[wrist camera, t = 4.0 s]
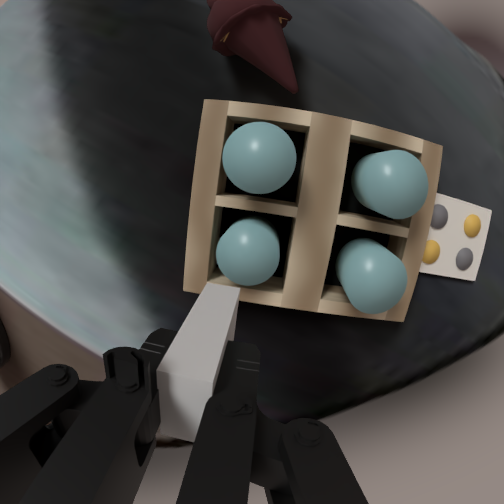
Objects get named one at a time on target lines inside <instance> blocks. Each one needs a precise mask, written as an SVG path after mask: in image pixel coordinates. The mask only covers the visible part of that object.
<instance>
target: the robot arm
mask: <svg viewBox="0 0 504 504" xmlns="http://www.w3.org/2000/svg"><path fill="white" fill-rule="evenodd" d="M239 295H240V288H237V287H231V286H225V285H219V284H213V283H207V284H206V285H205V287H204V289H203V291H202V292H201V294H200V296H199V297H198V299H197V301H196V302H195V304H194V306H193V308H192V309H191V311H190V313H189V314H188V316H187V318H186V319H185V321H184V323H183V325H182V326H181V328H180V330H179V332H177V331H173V330H168V329H163V328H160V329H158V330H156V331H154V332H152V333H151V334H150V335H149V336H148V338H147V339H146V341H145V343H143V345H142V346H141V348H140V349H139V350H138V349H136V348H131V347H116V348H113V349H110V350H108V351H107V352H105V353H104V354H103V359H104V366H105V372H106V379H105V380H104V381H103V382H101V381H86V380H79V377H78V374H77V372H76V371H75V370H74V369H73V368H72V367H70V366H67V365H63V364H54V365H49V366H47V367H45V368H43V369H41V370H40V371H38V372H36V373H35V374H33V375H32V376H30V377H28V378H27V379H25V380H24V381H22V382H20V383H19V384H17V385H16V386H14V387H12V388H11V389H9V390H8V391H6V392H5V393H3V394H1V395H0V504H133V501H134V498H135V496H136V494H137V491H138V489H139V486H140V483H141V481H142V479H143V476H144V473H145V471H146V468H147V466H148V464H149V461H150V459H151V456H152V454H153V451H154V449H155V446H156V435H155V434H156V432H157V430H158V427H159V425H160V432H161V434H163V435H167V436H171V437H175V438H179V439H183V440H187V441H192V442H194V445H193V448H192V451H191V455H190V458H189V461H188V465H187V468H186V471H185V475H184V478H183V481H182V485H181V489H180V492H179V496H178V498H177V502H176V504H247V502H248V493H249V483H250V482H252V483H254V484H257V485H259V486H262V487H264V489H265V493H266V497H267V501H268V504H368V502H367V500H366V498H365V496H364V494H363V492H362V490H361V488H360V486H359V484H358V482H357V480H356V478H355V476H354V474H353V472H352V470H351V468H350V466H349V464H348V462H347V460H346V458H345V456H344V454H343V452H342V450H341V448H340V446H339V444H338V442H337V440H336V438H335V436H334V434H333V432H332V431H331V430H330V429H329V427H328V426H326V425H325V424H323V423H322V422H320V421H317V420H314V419H310V418H299V419H295V420H292V421H290V422H289V423H288V424H286V425H285V424H282V423H280V422H277V421H274V420H272V419H270V418H268V417H267V416H265V415H264V414H263V413H262V412H261V411H260V410H259V408H258V406H257V402H256V396H257V385H258V375H259V363H260V352H259V350H258V348H257V346H256V345H255V344H249V343H243V342H236V341H233V339H234V332H235V324H236V317H237V309H238V302H239ZM9 358H10V346H9V341H8V338H7V335H6V332H5V329H4V327H3V324H2V322H1V320H0V368H1V367H2V366H3V365H4V364H6V363H7V362H8V361H9ZM50 421H51V422H52V423H51V424H49V425H47V426H46V424H47V423H49V422H50Z"/></svg>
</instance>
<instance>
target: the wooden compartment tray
mask: <svg viewBox="0 0 504 504" xmlns="http://www.w3.org/2000/svg"><path fill="white" fill-rule="evenodd" d="M252 122H267V123H271V124H274V125H276V126H278V127H279V128H281V129H284V130H290V131H297V132H303V133H305V140H304V147H303V154H302V161H301V168H300V174H299V181H298V187H297V194H296V200H295V202H289V201H283V200H276V199H270V198H263V197H256V196H249V195H242V194H235V193H228V192H225V187H226V179H227V174H226V172H225V170H224V167H223V160H222V156H223V149H224V146H225V143H226V141H227V139H228V138H229V137H230V135H231V134H232V133H233V129H234V123H237V124H248V123H252ZM349 142H354V143H358V144H362V145H367V146H371V147H375V148H379V149H383V150H387V151H390V150H402V151H406V152H408V153H410V154H412V155H413V156H415V157H416V158H417V159H418V160H419V161H420V162H421V164H422V165H423V167H424V169H425V171H426V174H427V177H428V194H427V198H426V200H425V202H424V204H423V206H422V207H421V209H420V210H419V211H418V212H417V213H415V214H414V215H412V216H410V217H408V218H405V219H393V221H392V220H387V219H382V218H377V217H372V216H367V215H362V214H357V213H352V212H346V211H341V210H339V206H340V201H341V195H342V189H343V183H344V176H345V170H346V163H347V156H348V149H349ZM442 148H443V146H441V145H438V144H435V143H432V142H429V141H426V140H423V139H420V138H417V137H413V136H410V135H407V134H404V133H400V132H397V131H393V130H390V129H386V128H382V127H379V126H375V125H371V124H367V123H363V122H359V121H354V120H350V119H346V118H341V117H336V116H331V115H326V114H321V113H316V112H310V111H305V110H299V109H292V108H286V107H279V106H272V105H264V104H255V103H246V102H235V101H223V100H209V99H204V105H203V111H202V118H201V124H200V131H199V138H198V145H197V152H196V160H195V168H194V176H193V184H192V193H191V203H190V212H189V222H188V233H187V245H186V257H185V271H184V286H183V291H188V292H194V293H199V294H201V292H202V291H203V289H204V287H205V285H206V284H207V283H213V284H219V285H225V286H231V287H237V288H240V295H239V300H240V301H246V302H252V303H258V304H265V305H271V306H278V307H284V308H291V309H298V310H305V311H313V312H320V313H328V314H336V315H344V316H352V317H361V318H370V319H379V320H388V321H398V322H403V321H404V318H405V315H406V313H407V310H408V306H409V303H410V300H411V297H412V294H413V291H414V287H415V284H416V280H417V277H418V273H419V270H420V266H421V262H422V259H423V255H424V251H425V247H426V242H427V238H428V234H429V229H430V224H431V220H432V215H433V209H434V204H435V198H436V193H437V186H438V180H439V173H440V165H441V157H442ZM223 207H229V208H236V209H243V210H250V211H257V212H264V213H270V214H277V215H283V216H289V217H293V219H292V225H291V231H290V237H289V243H288V249H287V254H286V260H285V266H284V271H283V277H282V278H281V277H274V276H271V277H270V278H269V279H268V280H266V281H265V282H263V283H260V284H257V285H252V286H245V285H240V284H237V283H234V282H232V281H231V280H229V279H228V278H227V277H226V276H225V275H224V274H223V273H222V271H221V270H220V268H218V267H216V263H217V259H216V249H217V245H218V242H219V236H220V228H221V219H222V211H223ZM336 224H337V225H342V226H348V227H353V228H359V229H364V230H370V231H375V232H380V233H385V234H390V237H389V242H388V246H387V250H389V251H390V252H391V253H393V254H394V255H395V256H396V257H398V258H399V259H400V260H401V261H402V263H403V264H404V266H405V268H406V272H407V286H406V290H405V292H404V294H403V296H402V298H401V299H400V300H399V302H398V303H397V304H396V305H395V306H393V307H392V308H391V309H389V310H387V311H385V312H382V313H378V314H367V313H364V312H361V311H359V310H358V309H356V308H355V307H354V306H353V305H352V304H351V302H350V300H349V298H348V296H347V294H346V293H345V291H344V289H343V287H341V286H334V285H327V284H324V281H325V277H326V272H327V268H328V263H329V258H330V253H331V248H332V243H333V238H334V233H335V228H336Z"/></svg>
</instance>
